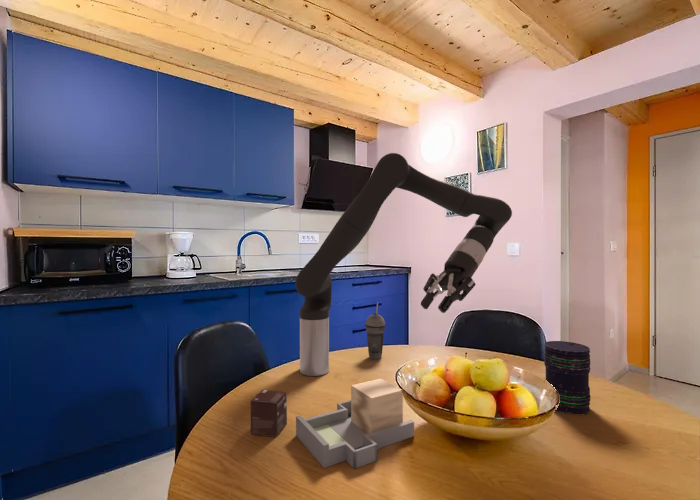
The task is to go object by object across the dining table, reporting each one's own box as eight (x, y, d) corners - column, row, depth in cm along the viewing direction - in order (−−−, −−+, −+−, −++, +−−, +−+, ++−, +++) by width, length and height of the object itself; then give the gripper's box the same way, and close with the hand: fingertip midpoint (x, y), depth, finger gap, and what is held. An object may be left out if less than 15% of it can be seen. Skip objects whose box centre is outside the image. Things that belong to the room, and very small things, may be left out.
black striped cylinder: (579, 419, 82) (580, 354, 82) (536, 404, 90) (536, 344, 90) (597, 407, 88) (597, 347, 88) (555, 394, 96) (555, 338, 96)
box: (276, 438, 74) (276, 402, 74) (249, 435, 75) (249, 400, 75) (287, 424, 80) (287, 391, 80) (262, 421, 81) (262, 389, 81)
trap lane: (290, 429, 78) (290, 410, 78) (370, 407, 88) (370, 390, 88) (331, 477, 61) (331, 454, 61) (424, 443, 72) (424, 423, 72)
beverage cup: (375, 353, 134) (375, 299, 134) (389, 357, 128) (389, 301, 128) (361, 357, 129) (360, 301, 129) (375, 361, 123) (375, 304, 123)
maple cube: (351, 421, 79) (351, 385, 79) (380, 412, 83) (380, 378, 83) (371, 437, 72) (371, 398, 72) (402, 427, 76) (402, 390, 76)
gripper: (438, 249, 99) (404, 295, 93) (481, 249, 87) (445, 302, 81) (451, 268, 102) (420, 314, 96) (495, 270, 90) (462, 323, 84)
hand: (432, 308), depth 89 cm, fingers open, 5 cm apart
